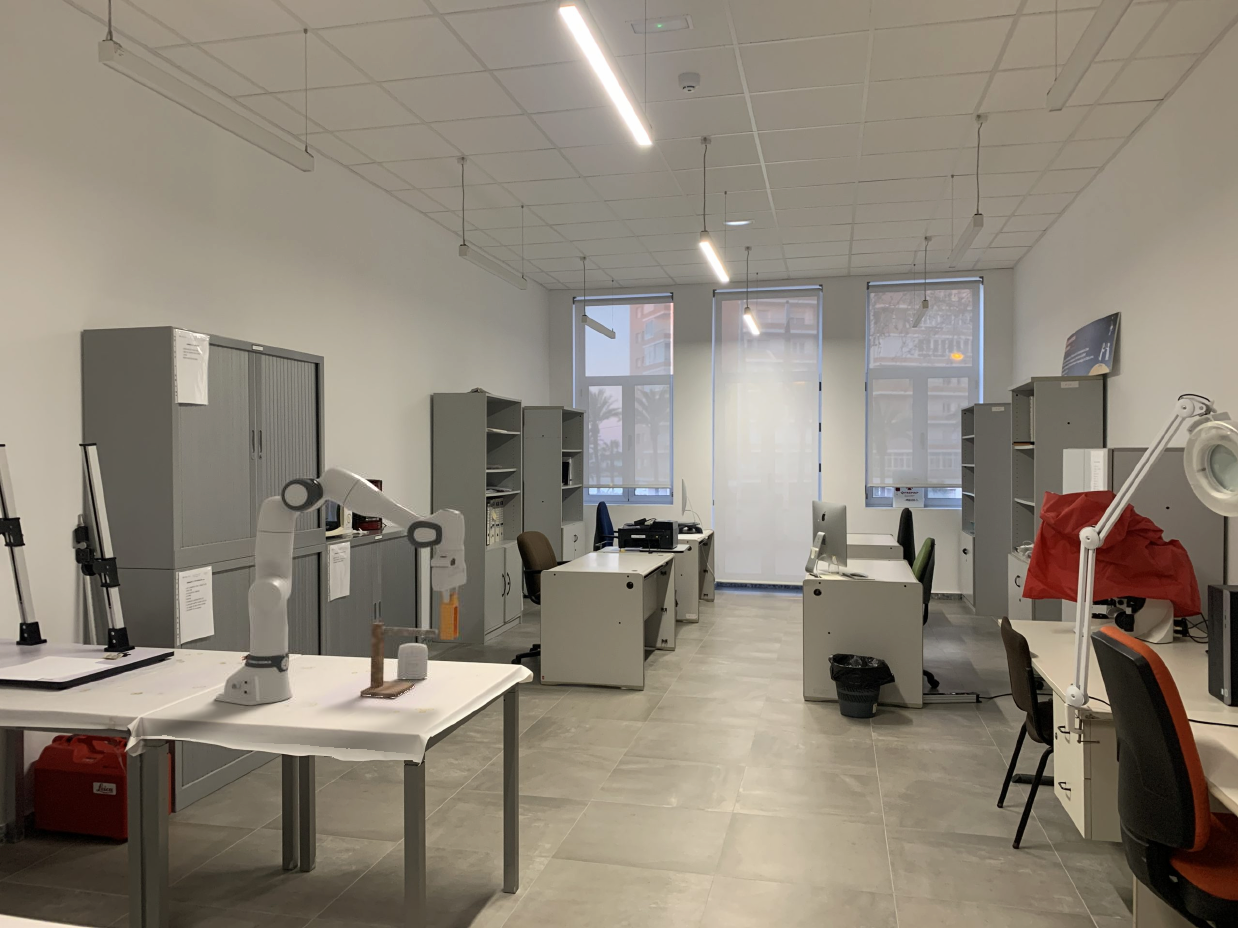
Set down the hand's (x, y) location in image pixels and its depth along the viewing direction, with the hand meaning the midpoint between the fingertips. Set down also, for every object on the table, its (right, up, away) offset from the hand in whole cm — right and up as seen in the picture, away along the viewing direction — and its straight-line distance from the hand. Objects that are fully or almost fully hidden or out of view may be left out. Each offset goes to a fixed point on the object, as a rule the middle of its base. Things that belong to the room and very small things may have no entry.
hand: (449, 601), depth 259 cm
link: (0, -12, 0) cm, 12 cm away
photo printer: (-18, -31, +21) cm, 41 cm away
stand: (-16, -30, +2) cm, 34 cm away
